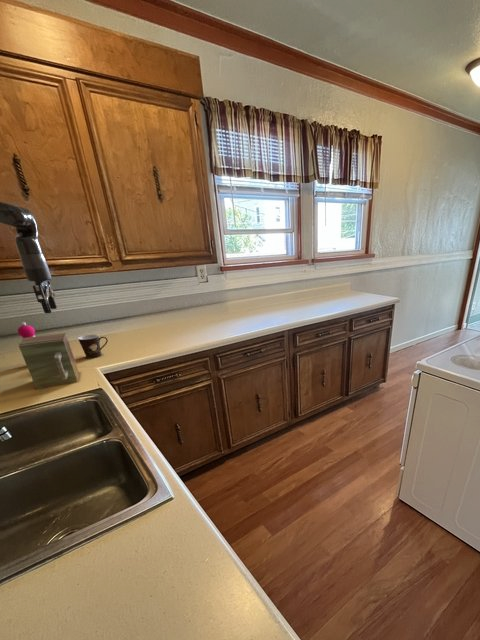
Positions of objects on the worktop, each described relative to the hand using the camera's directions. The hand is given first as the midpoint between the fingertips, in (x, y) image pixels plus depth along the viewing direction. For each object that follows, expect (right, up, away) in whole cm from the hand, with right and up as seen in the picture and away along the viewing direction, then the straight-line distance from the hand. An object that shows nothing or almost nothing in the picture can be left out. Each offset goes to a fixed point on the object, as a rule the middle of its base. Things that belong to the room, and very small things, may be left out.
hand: (51, 310), depth 129 cm
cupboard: (-2, -27, +7) cm, 28 cm away
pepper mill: (-24, -19, +24) cm, 39 cm away
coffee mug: (-3, -14, +34) cm, 37 cm away
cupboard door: (+2, -31, 0) cm, 31 cm away
